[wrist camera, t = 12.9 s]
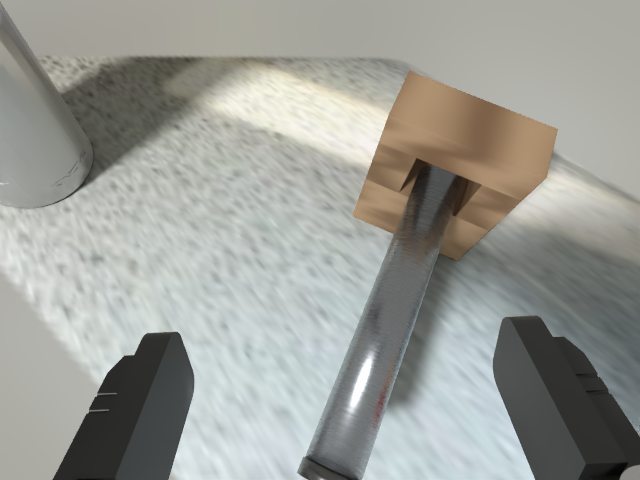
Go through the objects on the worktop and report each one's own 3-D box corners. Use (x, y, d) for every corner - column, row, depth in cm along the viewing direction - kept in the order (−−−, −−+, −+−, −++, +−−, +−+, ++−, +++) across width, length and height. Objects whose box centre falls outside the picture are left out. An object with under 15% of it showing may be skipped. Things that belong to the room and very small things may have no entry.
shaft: (350, 496, 24) (361, 506, 21) (295, 469, 24) (298, 475, 21) (452, 200, 33) (471, 175, 30) (411, 182, 33) (425, 156, 30)
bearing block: (352, 215, 38) (389, 114, 26) (368, 181, 40) (409, 70, 28) (457, 260, 38) (546, 177, 25) (468, 224, 39) (557, 129, 27)
